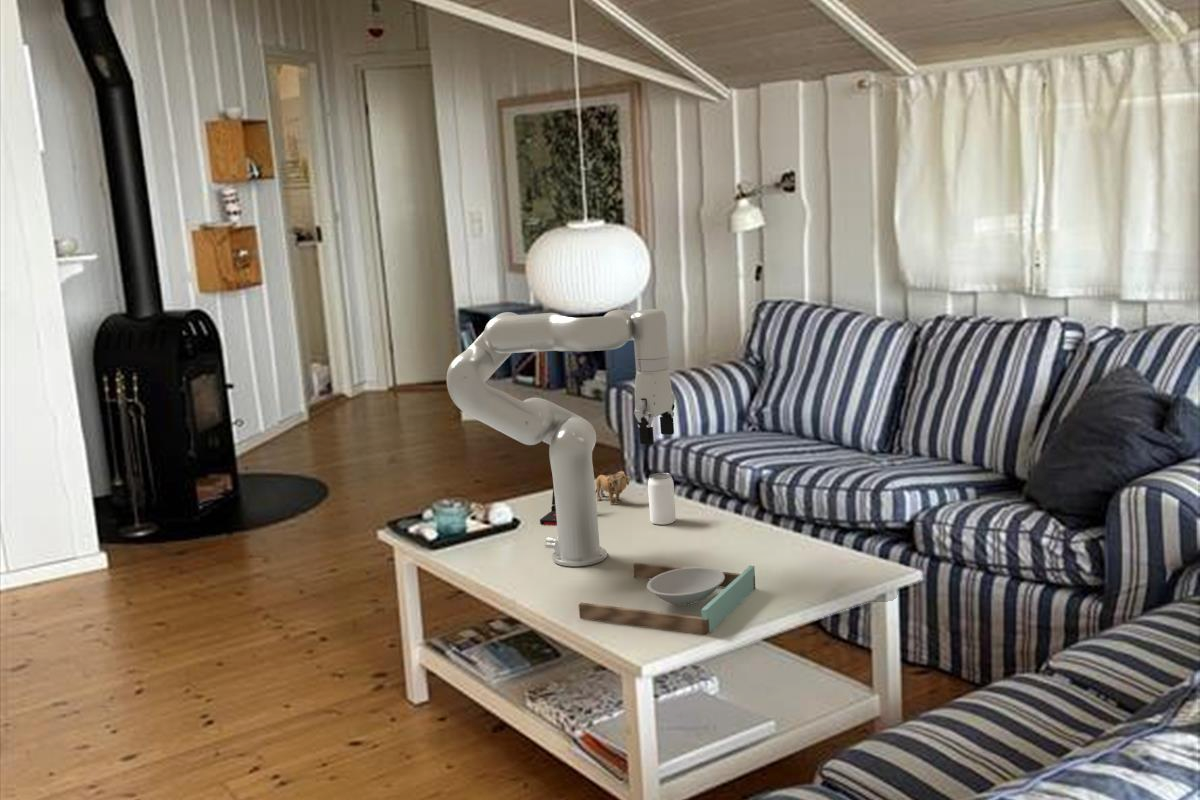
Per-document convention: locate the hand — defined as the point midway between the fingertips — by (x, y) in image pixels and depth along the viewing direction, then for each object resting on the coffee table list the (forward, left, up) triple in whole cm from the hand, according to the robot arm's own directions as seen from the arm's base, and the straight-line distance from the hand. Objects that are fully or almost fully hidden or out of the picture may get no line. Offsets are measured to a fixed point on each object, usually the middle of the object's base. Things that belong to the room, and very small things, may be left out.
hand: (657, 439), depth 275 cm
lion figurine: (-33, +37, -28) cm, 57 cm away
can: (-12, +24, -28) cm, 38 cm away
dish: (+17, -26, -28) cm, 42 cm away
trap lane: (+13, -27, -28) cm, 41 cm away
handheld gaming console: (-38, +20, -28) cm, 51 cm away
